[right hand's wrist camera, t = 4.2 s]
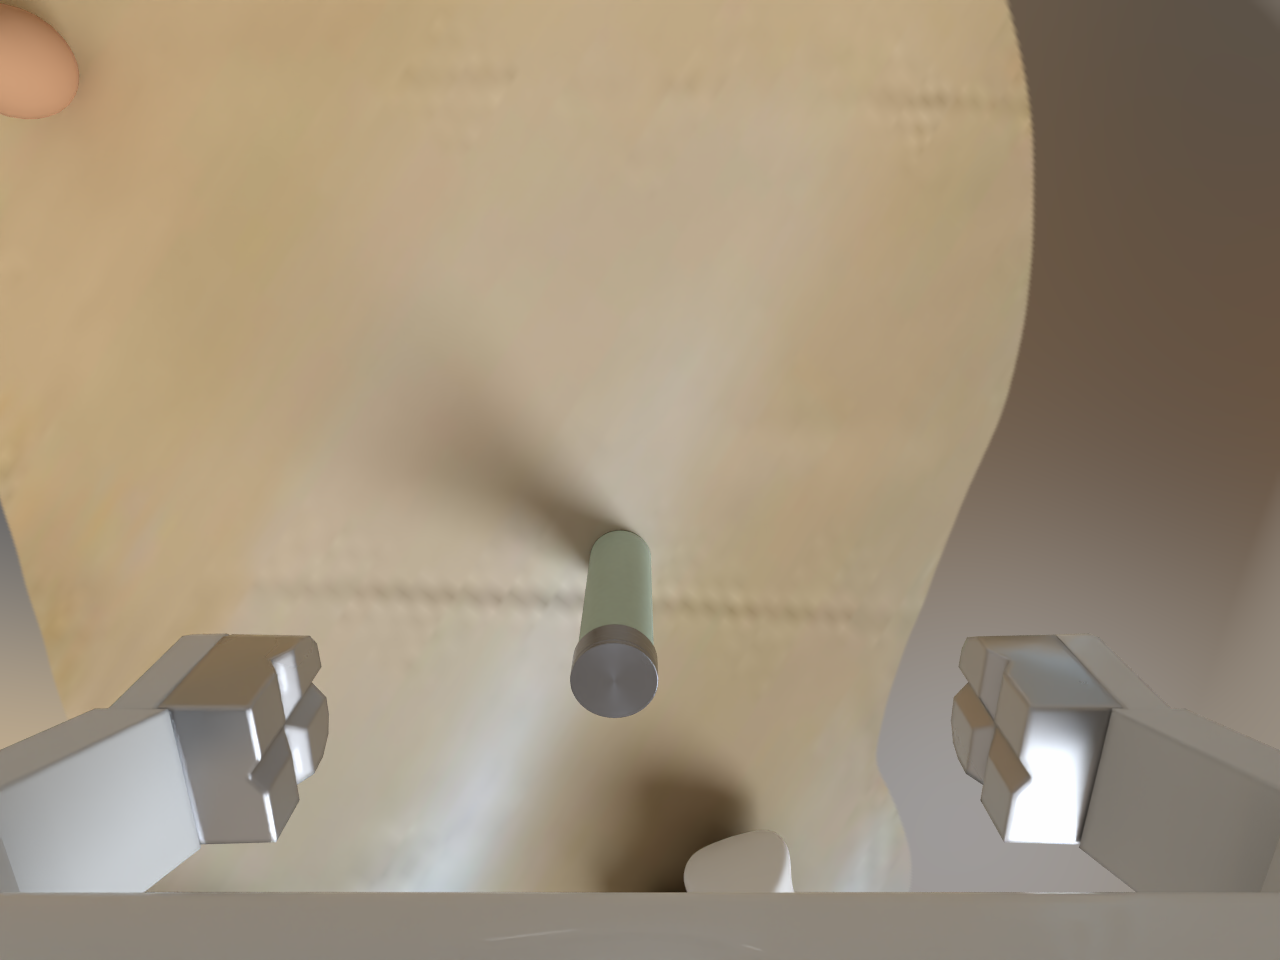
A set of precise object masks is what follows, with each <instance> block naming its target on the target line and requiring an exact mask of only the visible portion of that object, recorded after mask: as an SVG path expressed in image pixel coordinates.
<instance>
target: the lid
mask: <svg viewBox="0 0 1280 960" xmlns="http://www.w3.org/2000/svg"><path fill="white" fill-rule="evenodd" d="M570 683H571V688H572V692H573V694H574V696H575V697H576V699H577V700H578V702H579V703H580V704H581V705H582V706H583V707H584V708H586V709H587V710H588V711H590V712H592V713H594V714H597V715H600V716H603V717H609V718H621V717H626V716H630V715H633V714H635V713H637V712H639V711H641V710H642V709H643V708H645V707H646V706H647V705H648V704H649V703H650V702H651V700H652V699H653V697H654V695H655V693H656V691H657V687H658V663H657V654H656V650H655V648H654V646H653V644H652V643H651V641H650V640H649V639H648V638H647V637H646V636H645V635H644V634H643V633H642V632H640V631H638V630H637V629H635V628H632V627H629V626H626V625H620V624H609V625H604V626H600V627H597V628H595V629H593V630H591V631H590V632H588V633H587V634H586V635H584V636H583V638H582V639H581V640H580V641H579V642H578V644H577V646H576V648H575V651H574V655H573V661H572V669H571V676H570Z"/></svg>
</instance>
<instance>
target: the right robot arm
mask: <svg viewBox="0 0 1280 960" xmlns="http://www.w3.org/2000/svg"><path fill="white" fill-rule="evenodd" d="M320 668H321V662H320V657H319V652H318V647H317V643H316V642H315V641H314V640H313V639H312V638H311V637H310V636H295V635H244V634H232V635H229V634H192V635H186V636H182V637H181V638H180V639H179V640H178V641H177V642H176V643H175V644H174V645H173V646H172V647H171V648H170V649H169V650H168V651H167V652H166V653H165V654H164V655H163V656H162V657H161V658H160V659H159V660H157V661H156V662H155V663H154V664H153V665H152V666H151V667H150V668H149V669H148V670H147V671H146V672H145V673H144V674H143V675H142V676H141V677H140V678H139V679H138V680H137V681H136V682H135V683H134V684H133V685H132V686H131V687H130V688H129V689H128V690H127V691H126V692H125V693H124V694H123V695H122V696H121V697H120V698H119V699H118V700H117V701H116V702H115V703H114V704H113V705H111V706H110V707H109V708H108V709H93V710H91V711H88V712H86V713H84V714H82V715H79V716H77V717H75V718H72V719H70V720H68V721H66V722H63V723H61V724H59V725H56V726H54V727H52V728H50V729H47V730H45V731H43V732H40V733H38V734H36V735H34V736H31V737H29V738H27V739H24V740H22V741H20V742H17V743H15V744H13V745H11V746H8V747H6V748H4V749H1V750H0V960H1280V750H1278V749H1276V748H1274V747H1271V746H1269V745H1267V744H1265V743H1262V742H1260V741H1258V740H1255V739H1253V738H1251V737H1249V736H1246V735H1244V734H1242V733H1239V732H1237V731H1235V730H1233V729H1230V728H1228V727H1226V726H1223V725H1221V724H1219V723H1217V722H1214V721H1212V720H1210V719H1208V718H1205V717H1203V716H1201V715H1198V714H1196V713H1194V712H1191V711H1189V710H1187V709H1172V708H1171V707H1170V706H1169V705H1167V703H1166V702H1164V701H1163V700H1162V699H1161V698H1160V697H1159V696H1158V695H1157V694H1156V693H1155V692H1154V691H1153V690H1152V689H1151V688H1150V687H1149V686H1148V685H1147V684H1146V683H1145V682H1144V681H1143V680H1142V679H1141V678H1140V677H1139V676H1138V675H1137V674H1136V673H1135V672H1134V671H1133V670H1132V669H1131V668H1130V667H1129V666H1128V665H1127V664H1126V663H1125V662H1124V661H1123V660H1122V659H1121V658H1120V657H1119V656H1118V655H1117V654H1116V653H1115V652H1114V651H1112V650H1111V649H1110V648H1109V647H1108V646H1107V645H1106V644H1105V643H1104V642H1103V641H1102V640H1101V639H1100V638H1099V637H1097V636H1094V635H1091V634H1089V633H1084V634H1059V635H1019V636H979V637H967V639H966V641H965V643H964V645H963V647H962V650H961V656H960V661H959V668H960V670H961V671H962V673H963V674H964V676H965V677H966V679H967V681H968V683H967V684H966V685H965V686H964V687H963V688H962V689H961V690H960V691H959V693H957V695H956V696H955V697H954V700H953V708H952V716H951V726H952V736H953V744H954V747H955V750H956V754H957V757H958V759H959V761H960V763H961V765H962V767H963V769H964V771H965V773H966V774H967V775H969V776H970V777H972V778H973V779H975V780H977V781H978V782H980V783H981V784H983V788H982V794H981V802H982V804H983V805H984V807H985V809H986V811H987V812H988V814H989V816H990V818H991V820H992V821H993V823H994V825H995V827H996V829H997V830H998V832H999V834H1000V836H1001V838H1002V839H1003V841H1004V842H1017V843H1053V844H1080V846H1079V848H1080V849H1082V850H1083V851H1084V852H1085V853H1087V854H1088V855H1089V856H1091V857H1092V858H1093V859H1094V860H1096V861H1097V862H1098V863H1099V864H1101V865H1102V866H1103V867H1105V868H1106V869H1107V870H1108V871H1110V872H1111V873H1112V874H1114V875H1115V876H1116V877H1118V878H1119V879H1120V880H1121V881H1123V882H1124V883H1125V884H1127V885H1128V886H1129V887H1130V888H1132V889H1133V890H1134V891H1135V892H145V891H146V890H147V889H149V888H150V887H151V886H153V885H154V884H155V883H156V882H158V881H159V880H160V879H162V878H163V877H164V876H165V875H167V874H168V873H169V872H171V871H172V870H173V869H174V868H176V867H177V866H178V865H180V864H181V863H182V862H183V861H185V860H186V859H187V858H189V857H190V856H191V855H192V854H194V853H195V852H196V851H198V850H199V849H200V848H201V846H200V844H227V843H262V842H276V841H277V839H278V838H279V836H280V834H281V832H282V831H283V829H284V827H285V825H286V823H287V822H288V820H289V818H290V816H291V814H292V813H293V811H294V809H295V807H296V805H297V804H298V802H299V794H298V788H297V784H299V783H300V782H302V781H304V780H305V779H307V778H308V777H310V776H311V775H313V774H314V773H315V771H316V769H317V767H318V765H319V763H320V761H321V759H322V757H323V754H324V750H325V746H326V741H327V737H328V723H329V713H328V706H327V699H326V697H325V696H324V695H323V693H322V692H321V691H320V690H319V689H318V688H317V687H316V686H315V685H314V684H313V683H312V681H313V679H314V678H315V676H316V674H317V673H318V671H319V670H320Z"/></svg>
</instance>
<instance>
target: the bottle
mask: <svg viewBox="0 0 1280 960" xmlns="http://www.w3.org/2000/svg"><path fill="white" fill-rule="evenodd" d="M609 624H620V625H626V626H629V627H632V628H635V629H637V630H638V631H640V632H642V633H643V634H644V635H645V636H646V637H647V638H648V639H649V640H650V641H651V643H652V644H653V614H652V579H651V554H650V550H649V548H648V546H647V544H646V543H645V541H644V540H643V539H642V538H640V537H639V536H638V535H636V534H634V533H631V532H628V531H612V532H609V533H607V534H605V535H603V536H601V537H600V538H599V539H598V540H597V541H596V542H595V544H594V545H593V547H592V550H591V554H590V561H589V568H588V576H587V584H586V591H585V599H584V606H583V614H582V621H581V629H580V636H579V641H580V640H581V639H582V638H583V636H584V635H586V634H587V633H588V632H590V631H591V630H593V629H595V628H597V627H600V626H604V625H609Z"/></svg>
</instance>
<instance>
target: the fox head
mask: <svg viewBox="0 0 1280 960" xmlns="http://www.w3.org/2000/svg"><path fill="white" fill-rule="evenodd" d="M684 883H685V887H686V890H687V892H794V890H793V886H792V880H791V865H790V855H789V851H788V848H787V845H786V843H785V842H784V840H783V839H782V838H781V836H779V835H778V834H777V833H775V832H773V831H769V830H757V831H751V832H746V833H742V834H738V835H735V836H732V837H729V838H726V839H723V840H720V841H717V842H715V843H712V844H710V845H708V846H706V847H704V848H702V849H700V850H698V851H697V852H696V853H694V854H693V855H692V856H691V858H690V859H689V861H688V862H687V864H686V867H685V871H684Z"/></svg>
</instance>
